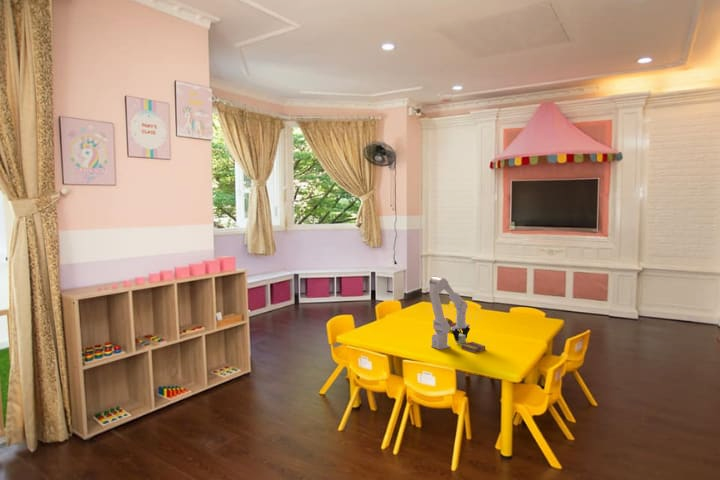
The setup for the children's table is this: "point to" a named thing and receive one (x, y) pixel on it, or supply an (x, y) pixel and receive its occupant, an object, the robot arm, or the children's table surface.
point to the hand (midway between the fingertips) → (460, 339)
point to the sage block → (461, 339)
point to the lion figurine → (452, 324)
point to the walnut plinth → (473, 347)
